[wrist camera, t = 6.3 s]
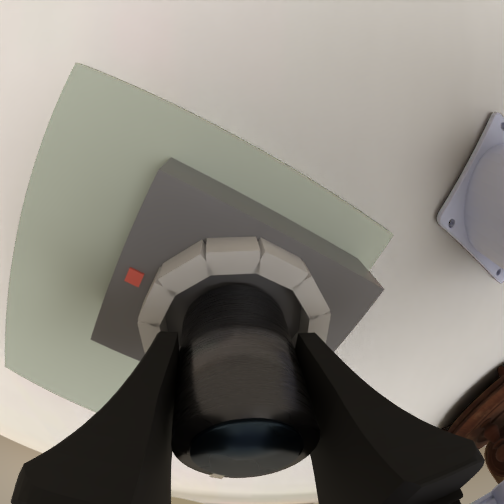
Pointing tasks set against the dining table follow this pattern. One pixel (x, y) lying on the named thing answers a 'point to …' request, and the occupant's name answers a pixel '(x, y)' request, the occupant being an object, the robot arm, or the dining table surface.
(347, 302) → the camera body
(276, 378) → the lens
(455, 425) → the scroll
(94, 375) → the mat
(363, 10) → the dining table surface
